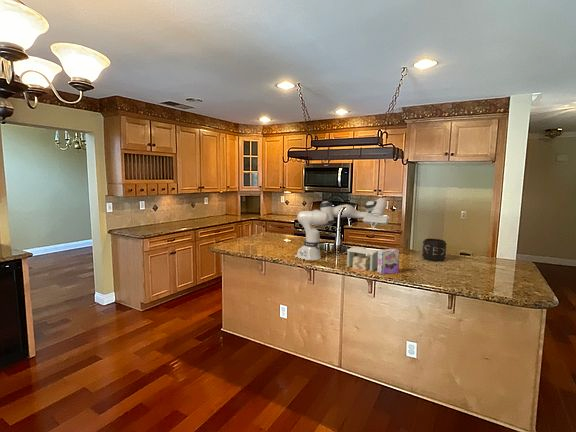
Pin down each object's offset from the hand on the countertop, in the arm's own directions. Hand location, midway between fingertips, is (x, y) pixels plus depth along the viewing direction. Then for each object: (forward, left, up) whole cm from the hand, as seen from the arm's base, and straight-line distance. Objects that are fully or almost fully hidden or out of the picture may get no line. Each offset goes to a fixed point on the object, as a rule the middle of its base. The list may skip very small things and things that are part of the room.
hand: (372, 227), depth 271 cm
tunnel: (+3, -26, -26) cm, 37 cm away
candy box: (+23, -27, -26) cm, 44 cm away
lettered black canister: (+40, +32, -26) cm, 58 cm away
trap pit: (+3, -33, -26) cm, 42 cm away
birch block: (+3, -26, -26) cm, 37 cm away
